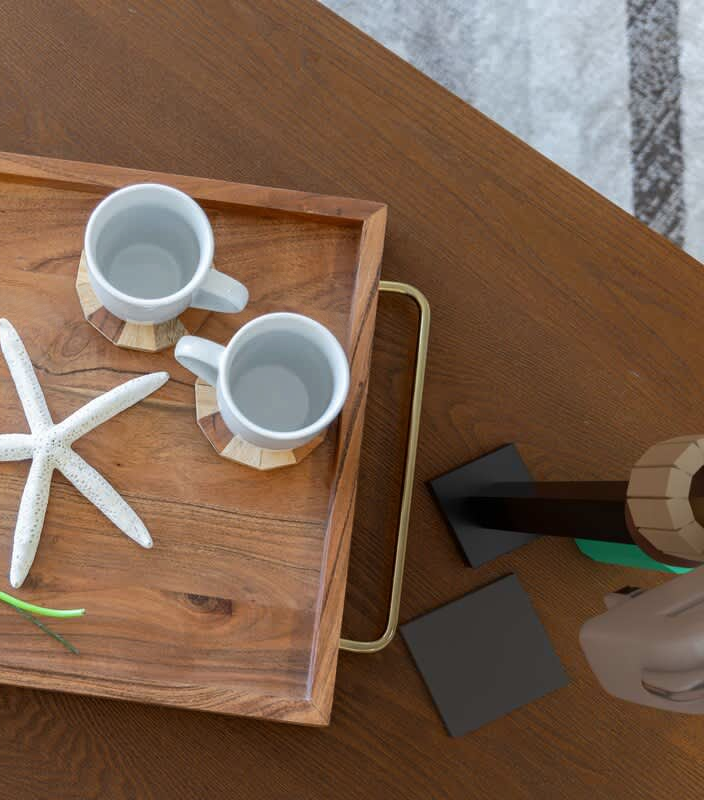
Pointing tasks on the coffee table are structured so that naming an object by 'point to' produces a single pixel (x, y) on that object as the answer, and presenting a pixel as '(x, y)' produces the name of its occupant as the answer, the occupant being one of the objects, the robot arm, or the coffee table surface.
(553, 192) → the coffee table surface
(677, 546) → the tan segmented ring
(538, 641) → the mat
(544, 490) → the stand
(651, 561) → the candle
